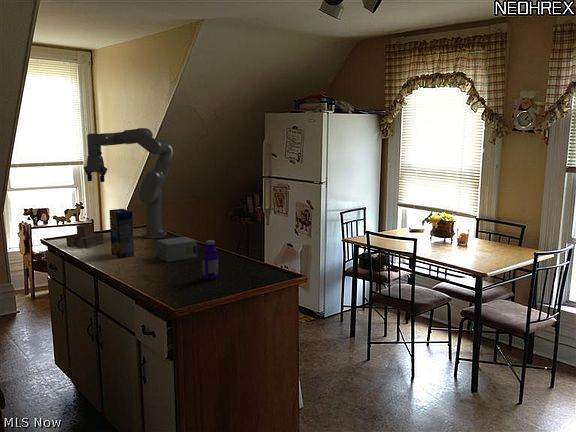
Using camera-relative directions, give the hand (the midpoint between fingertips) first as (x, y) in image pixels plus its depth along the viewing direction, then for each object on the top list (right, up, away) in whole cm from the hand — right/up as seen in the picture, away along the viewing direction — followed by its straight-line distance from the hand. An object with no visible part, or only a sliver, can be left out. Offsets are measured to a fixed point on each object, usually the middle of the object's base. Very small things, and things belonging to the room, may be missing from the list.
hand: (96, 181), depth 323 cm
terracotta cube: (+3, -33, -25) cm, 41 cm away
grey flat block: (+3, -38, -24) cm, 45 cm away
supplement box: (+61, -43, -49) cm, 89 cm away
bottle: (+84, -50, -87) cm, 131 cm away
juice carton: (+31, -42, -47) cm, 70 cm away
